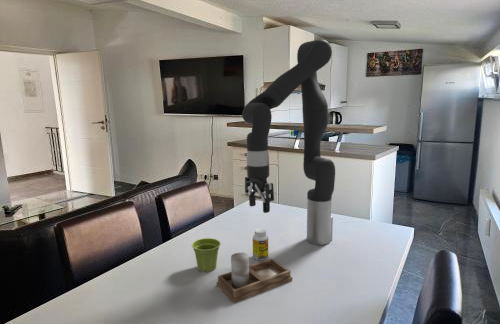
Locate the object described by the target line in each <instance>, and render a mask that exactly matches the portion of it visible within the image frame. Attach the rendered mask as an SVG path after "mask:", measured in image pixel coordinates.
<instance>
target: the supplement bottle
mask: <svg viewBox="0 0 500 324" xmlns="http://www.w3.org/2000/svg"><path fill="white" fill-rule="evenodd" d="M252 258H253V259H254V260H256V261H265V260H268V258H269V235H267V230H266V229H265V228H262V227H261V228H260V227H259V228H256V229H254V234H253V235H252Z"/></svg>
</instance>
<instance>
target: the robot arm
mask: <svg viewBox="0 0 500 324" xmlns="http://www.w3.org/2000/svg"><path fill="white" fill-rule="evenodd" d="M296 53H297V54H296V56H297V57H296V59H297V64H295V65H294V66H293V67H291V68H290V69H289V70H287V71H285V72H283V74H280V75H279V76H278V77H277V78H276V79H275V80H274V81H273V82H271V83H270V84H269V85H268V86H267V88H266V89H265V90H264V91H263V92H262V93H260V94H258V95H257V96H255V97H254V98H252V100H250V101H249V102H248V103H246V105H245V106H244V108H242V109H243V110H242V120H243V121H244V122H245V123H246V124H249V125H252V127H251V132H249V133H248V134H247V135H246V150H247V151H246V175H247V176H245V177H244V194H245V193H246V194H247V196H248V202H249V203H248V205H249V207H251V208H252V207H256V205H257V204H256V193H257V194H258V196H259V197H261V200H262V212H263V213H264V214H268V213H270V210H271V209H270V208H271V207H270V206H271V202H273V201H275V194H274V183H273V182H270V183H268V180H267V179H268V178H269V177H270V155H269V154H270V153H269V134H270V129H271V125H272V116H273V115H272V109H275V108H278V107H279V106H280V105H282V103H284V101H285V100H287V98H288V97H289V96H290V95H291V94H292V93H293V92H294V91H295V90H296V89H298V87H299V86H300V88H301V89H300V91H301V103H302V104H301V105H302V110H301V111H302V124H303V165H302V167H303V173H304V175H305V177H306V178H307V179H310V180H311V181H315V183H314V188H311V189H308V191H307V195H306V196H307V197H306V198H307V199H306V200H307V201H306V241H307V242H308V243H310V244H312V245H318V246H319V245H320V246H324V245H328V244H330V242H331V241H333V229H334V227H333V224H334V217H333V216H332V198H333V194H334V190H335V182H336V166H335V162H333V160H332V159H330V158H325V157H322V156H321V141H322V139H323V136H324V134H325V132H326V131H327V128H328V124H329V105H328V101H327V99H326V97H325V94H324V93H323V91H322V89H321V87H320V85H319V81H318V72H317V71H319V70H320V69H322V68H323V67H325V66H326V65H327V64H328V63H329V62H330V60H331V58H332V56H333V51H332V46H331V44H330V43H329V42H328V41H327V40H325V39H314V40H310V41H305V42H303V43H302V44H301V45H299V47H298V49H297V52H296Z"/></svg>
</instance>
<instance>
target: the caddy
mask: <svg viewBox="0 0 500 324" xmlns="http://www.w3.org/2000/svg"><path fill="white" fill-rule="evenodd" d="M249 258H250V257H249V254H248V253H246V252H235V253H232V254H231V256H230V266H231V267H230V268H231V271H229V272H226V273H223V274H220V275H217V281H215V282H216V283H215V285H216V287H217V288H219V290H220V291H221V292H222V293H223V294H224V295H225V296H226V297H227V298H228V299H229V300H230V301H231V302H232V303H233V304H235V303H238V302H241V301H244V300H246V299H248V298H251V297H253V296H256V295H259V294H262V293H265V292H267V291H269V290H272V289H275V288H277V287H280V286H282V285H285V284H288V283H291V282H293V277H292V276H291V270H289V269H288V268H286V267H285V266H284V265H282V264H280V263H279V262H278V261H276V260H274V259H273V258H269V259H268V258H267V259H265V260H261V261H259V262H256V263H253V264H250V263H249V262H250V259H249Z"/></svg>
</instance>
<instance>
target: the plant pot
mask: <svg viewBox="0 0 500 324" xmlns="http://www.w3.org/2000/svg"><path fill="white" fill-rule="evenodd" d="M220 246H221V241H220V240H218V239H217V238H210V237H206V238H205V237H204V238H199V239H197V240H194V241H193V242H192V244H191V247H192V248H193V251H194V254H195V259H196V266H197V269H198V271H200V272H202V273H203V272H209V273H210V272H213V271H214V270H215V269H217V262H218V255H219V254H218V253H219V250H220Z"/></svg>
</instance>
